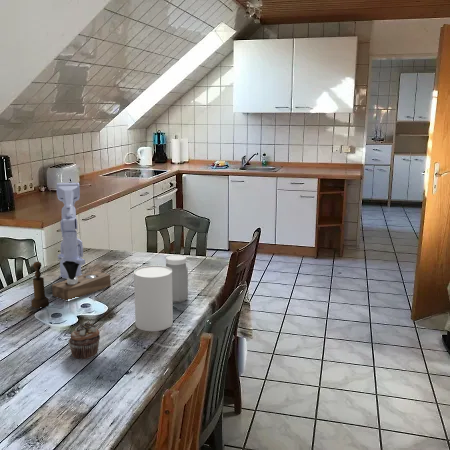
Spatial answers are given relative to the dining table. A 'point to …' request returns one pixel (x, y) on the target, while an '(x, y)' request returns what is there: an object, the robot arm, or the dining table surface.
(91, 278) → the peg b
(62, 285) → the walnut frame
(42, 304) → the dark brown tall piece
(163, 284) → the canister
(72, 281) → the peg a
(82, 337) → the cupcake
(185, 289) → the jar
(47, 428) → the dining table surface
